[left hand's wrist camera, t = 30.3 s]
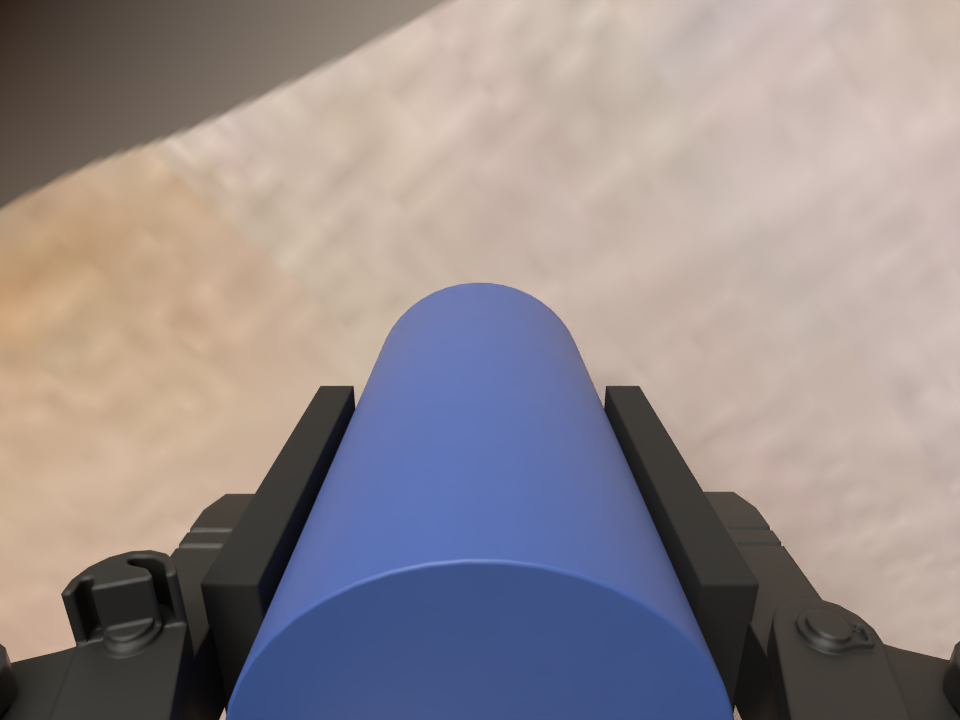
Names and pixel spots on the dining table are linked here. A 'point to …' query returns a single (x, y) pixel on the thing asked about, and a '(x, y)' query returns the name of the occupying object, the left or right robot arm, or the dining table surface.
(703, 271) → the dining table surface
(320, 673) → the canister
